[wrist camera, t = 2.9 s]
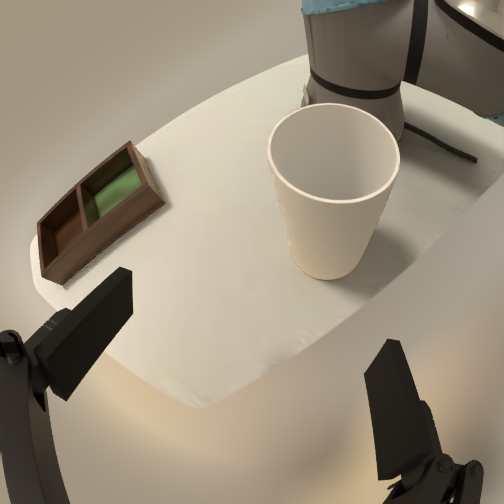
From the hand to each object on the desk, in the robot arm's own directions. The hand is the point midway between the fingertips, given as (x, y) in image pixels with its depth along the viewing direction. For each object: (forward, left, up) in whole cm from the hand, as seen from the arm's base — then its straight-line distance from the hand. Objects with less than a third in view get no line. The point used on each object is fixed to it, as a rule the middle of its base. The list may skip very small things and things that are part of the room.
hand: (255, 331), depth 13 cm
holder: (+32, -4, -16) cm, 36 cm away
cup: (0, -11, -16) cm, 19 cm away
